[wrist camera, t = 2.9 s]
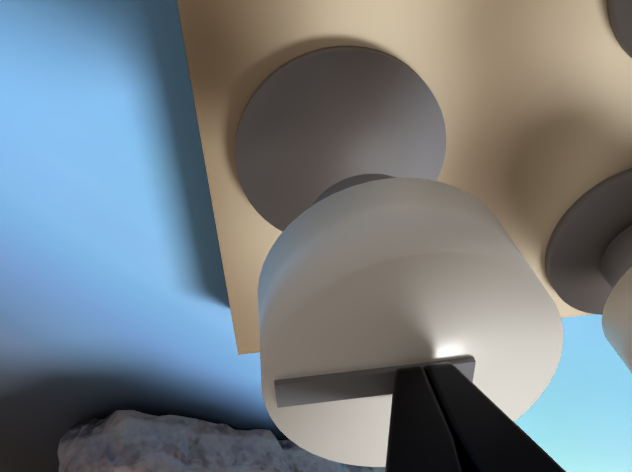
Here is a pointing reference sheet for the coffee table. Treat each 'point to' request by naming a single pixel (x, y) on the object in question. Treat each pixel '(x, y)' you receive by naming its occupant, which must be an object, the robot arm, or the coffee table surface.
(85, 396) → the coffee table surface
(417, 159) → the panel
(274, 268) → the knob
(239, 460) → the geode
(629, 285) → the knob
